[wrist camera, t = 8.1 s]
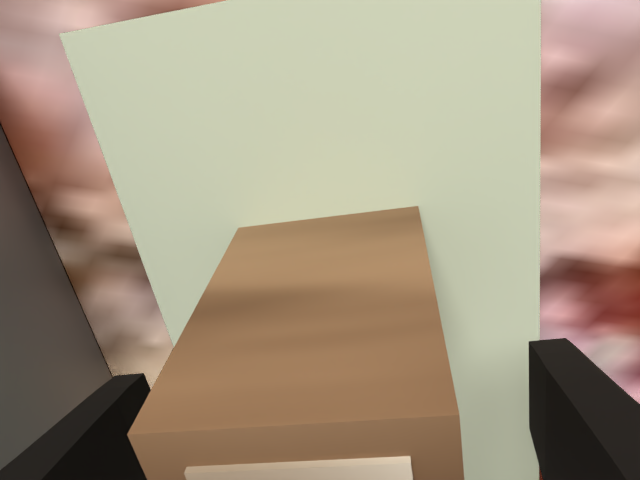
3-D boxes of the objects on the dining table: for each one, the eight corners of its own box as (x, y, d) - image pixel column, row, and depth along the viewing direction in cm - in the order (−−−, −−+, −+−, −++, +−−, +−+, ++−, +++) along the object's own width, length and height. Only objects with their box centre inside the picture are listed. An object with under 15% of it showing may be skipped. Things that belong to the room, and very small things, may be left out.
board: (532, 481, 15) (538, 500, 15) (238, 494, 17) (233, 511, 16) (531, -60, 9) (541, -62, 9) (74, 31, 11) (58, 33, 10)
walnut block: (432, 354, 13) (476, 630, 7) (274, 367, 14) (209, 629, 8) (418, 206, 11) (460, 421, 6) (238, 227, 12) (124, 440, 6)
